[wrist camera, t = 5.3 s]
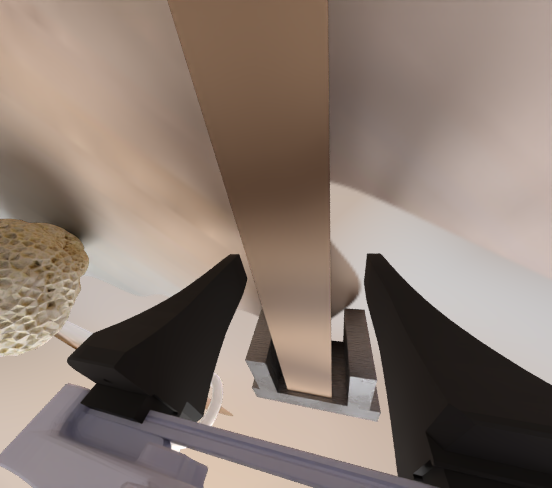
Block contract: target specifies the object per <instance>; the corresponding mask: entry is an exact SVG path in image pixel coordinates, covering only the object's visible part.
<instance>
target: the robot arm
mask: <svg viewBox="0 0 552 488" xmlns="http://www.w3.org/2000/svg"><path fill="white" fill-rule="evenodd" d="M246 283H247V276H246V273H245V270H244V267H243V264H242V261H241V258H240V255H239V254H230V255H229V256H227V257H226V258H224V259H223V260H222V261H221V262H219V263H218V264H217V265H215V266H214V267H213V268H212V269H210V270H209V271H208V272H206V273H205V274H204V275H203V276H201V277H200V278H198V279H197V280H196V281H194V282H193V283H192V284H190V285H189V286H187V287H186V288H184V289H183V290H181V291H180V292H178V293H177V294H175V295H173V296H172V297H170V298H169V299H167V300H165V301H163V302H161V303H160V304H158V305H156V306H154V307H152V308H150V309H148V310H146V311H144V312H142V313H140V314H138V315H136V316H134V317H132V318H130V319H127V320H125V321H123V322H121V323H118V324H116V325H113V326H110V327H108V328H105V329H103V330H100V331H98V332H95V333H93V334H92V335H91V336H90V337H89V338H88V339H87V340H86V341H85V342H84V343H83V344H82V345H81V346H79V347H78V348H77V349H76V350H75V351H74V352H73V354H71V355H70V356H69V357H68V359H67V363H68V364H69V365H70V366H71V367H72V368H73V369H75V370H76V371H78V372H79V373H81V374H82V375H84V376H86V377H88V378H89V379H90V380H92V381H93V382H95V383H96V385H95V386H94V387H93V388H92V389H91V390H90V389H87V388H85V387H81V386H77V385H73V384H70V383H68V384H65V386H64V387H63V388H62V389H61V390H60V391H59V392H58V393H57V394H56V395H55V396H54V397H53V398H52V399H51V400H50V402H49V403H48V404H47V405H46V406H45V407H44V408H43V409H42V410H41V411H40V413H38V414H37V415H36V416H35V418H34V419H33V420H32V421H31V422H30V423H29V424H28V425H27V426H26V427H25V428H24V429H23V430H22V432H21V433H20V434H19V435H18V436H17V437H16V438H15V439H14V440H13V441H12V442H11V443H10V444H9V445H8V446H7V447H6V448H5V450H4V451H3V452H2V453H1V454H0V466H1V467H3V468H5V469H7V470H9V471H11V472H12V473H14V474H16V475H17V476H19V477H20V478H21V479H23V480H24V481H25V482H27V483H28V484H29V485H30V486H31V487H33V488H203V484H204V480H205V477H206V474H207V471H208V468H207V466H205V465H203V464H201V463H199V462H197V461H195V460H193V459H191V458H189V457H188V456H186V455H185V454H182V453H180V452H177V451H174V450H172V449H171V443H174V444H177V445H180V446H184V447H187V448H190V449H193V450H196V451H200V452H203V453H206V454H209V455H212V456H215V457H218V458H222V459H225V460H228V461H231V462H235V463H237V464H241V465H244V466H247V467H250V468H253V469H256V470H260V471H263V472H266V473H269V474H272V475H275V476H279V477H282V478H285V479H288V480H291V481H294V482H298V483H301V484H304V485H307V486H310V487H313V488H552V385H550V384H549V383H547V382H545V381H543V380H542V379H540V378H538V377H537V376H535V375H533V374H531V373H530V372H528V371H526V370H524V369H523V368H521V367H520V366H518V365H517V364H515V363H513V362H512V361H510V360H509V359H507V358H505V357H504V356H502V355H501V354H499V353H497V352H496V351H494V350H493V349H491V348H490V347H488V346H487V345H485V344H483V343H482V342H481V341H479V340H477V339H476V338H475V337H473V336H472V335H470V334H469V333H468V332H466V331H465V330H463V329H462V328H460V327H459V326H458V325H456V324H455V323H454V322H452V321H451V320H450V319H448V318H447V317H446V316H445V315H443V314H442V313H441V312H440V311H438V310H437V309H436V308H435V307H433V306H432V305H431V304H430V303H429V302H428V301H426V300H425V299H424V298H423V297H422V296H421V295H420V294H419V293H417V292H416V291H415V290H414V289H413V288H412V287H411V286H410V285H409V284H408V283H407V282H406V281H405V280H404V279H403V278H402V277H401V276H400V275H399V274H398V273H397V271H396V270H395V269H394V268H393V267H392V266H391V265H390V264H389V263H388V261H387V260H386V259H385V258H384V257H383V256H382V255H381V254H367V260H366V269H365V278H364V286H365V293H366V300H367V304H368V308H369V311H370V315H371V319H372V322H373V326H374V330H375V334H376V337H377V341H378V345H379V350H380V355H381V361H382V367H383V372H384V379H385V386H386V391H387V399H388V405H389V413H390V420H391V427H392V434H393V442H394V449H395V458H396V466H397V473H398V476H394V475H390V474H387V473H383V472H379V471H375V470H372V469H368V468H364V467H361V466H357V465H353V464H350V463H346V462H342V461H338V460H335V459H331V458H327V457H323V456H319V455H316V454H312V453H309V452H305V451H301V450H298V449H294V448H290V447H286V446H282V445H279V444H275V443H271V442H267V441H264V440H260V439H256V438H253V437H249V436H245V435H242V434H238V433H234V432H231V431H227V430H223V429H219V428H216V427H212V426H208V425H205V424H201V423H197V421H198V420H200V419H201V418H202V417H203V415H204V410H205V406H206V402H207V397H208V393H209V389H210V385H211V381H212V377H213V374H214V370H215V366H216V363H217V359H218V356H219V353H220V350H221V347H222V344H223V341H224V338H225V334H226V332H227V329H228V327H229V325H230V322H231V320H232V318H233V315H234V313H235V311H236V309H237V307H238V305H239V302H240V300H241V298H242V295H243V293H244V290H245V286H246ZM170 442H171V443H170Z"/></svg>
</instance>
